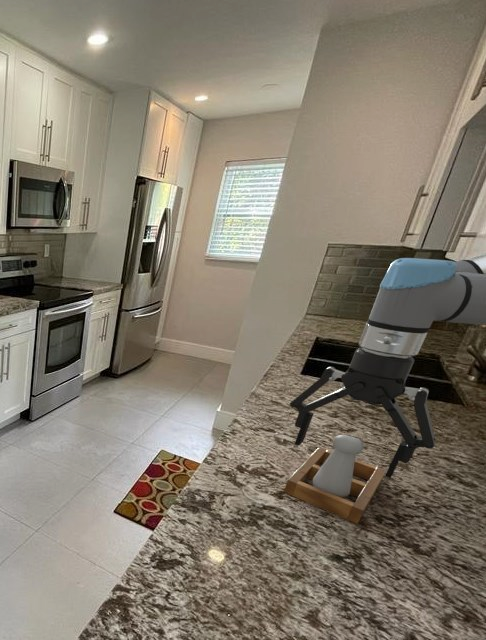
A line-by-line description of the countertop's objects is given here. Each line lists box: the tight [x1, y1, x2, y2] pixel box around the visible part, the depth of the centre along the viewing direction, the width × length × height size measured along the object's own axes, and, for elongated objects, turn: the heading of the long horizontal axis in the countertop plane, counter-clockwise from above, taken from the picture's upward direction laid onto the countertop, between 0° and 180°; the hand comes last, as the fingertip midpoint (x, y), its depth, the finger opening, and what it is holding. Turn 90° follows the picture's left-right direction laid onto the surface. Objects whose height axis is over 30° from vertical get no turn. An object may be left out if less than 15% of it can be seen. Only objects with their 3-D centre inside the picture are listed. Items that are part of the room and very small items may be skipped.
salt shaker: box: [312, 434, 365, 499], centre depth 79 cm, size 6×6×13 cm
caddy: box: [283, 446, 387, 525], centre depth 84 cm, size 12×22×3 cm, turn 129°
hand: (340, 458), depth 78 cm, fingers open, 13 cm apart
